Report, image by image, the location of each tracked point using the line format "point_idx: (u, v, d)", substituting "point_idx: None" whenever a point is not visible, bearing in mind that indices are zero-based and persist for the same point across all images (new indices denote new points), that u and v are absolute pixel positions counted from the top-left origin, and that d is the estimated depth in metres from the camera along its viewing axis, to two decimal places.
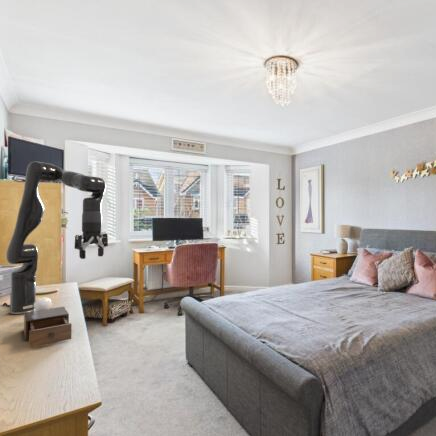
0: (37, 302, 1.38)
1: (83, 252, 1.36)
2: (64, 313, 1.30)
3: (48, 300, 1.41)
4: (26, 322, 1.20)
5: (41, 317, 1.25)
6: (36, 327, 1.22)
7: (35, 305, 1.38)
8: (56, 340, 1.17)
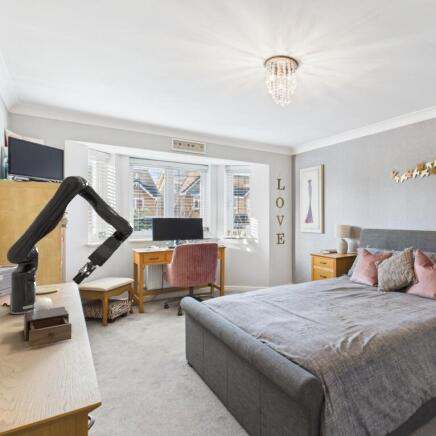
0: (37, 302, 1.38)
1: (82, 279, 1.47)
2: (64, 313, 1.30)
3: (48, 300, 1.41)
4: (26, 322, 1.20)
5: (41, 317, 1.25)
6: (36, 327, 1.22)
7: (35, 305, 1.38)
8: (56, 340, 1.17)
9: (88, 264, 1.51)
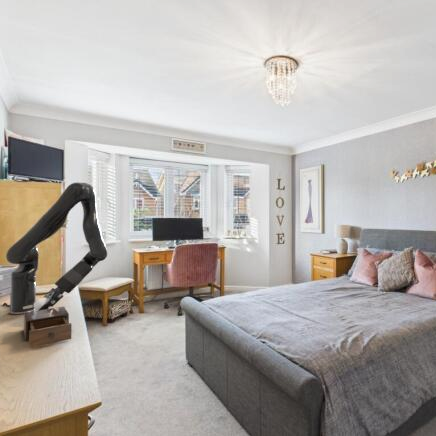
0: (37, 302, 1.38)
1: (47, 308, 1.39)
2: (64, 313, 1.30)
3: None
4: (26, 322, 1.20)
5: (41, 317, 1.25)
6: (36, 327, 1.22)
7: (35, 305, 1.38)
8: (56, 340, 1.17)
9: (55, 291, 1.43)
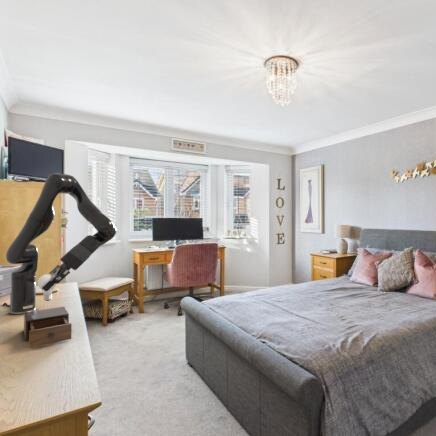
0: (41, 278, 1.26)
1: (52, 285, 1.27)
2: (64, 313, 1.30)
3: None
4: (26, 322, 1.20)
5: (41, 317, 1.25)
6: (36, 327, 1.22)
7: (39, 282, 1.26)
8: (56, 340, 1.17)
9: (61, 267, 1.31)
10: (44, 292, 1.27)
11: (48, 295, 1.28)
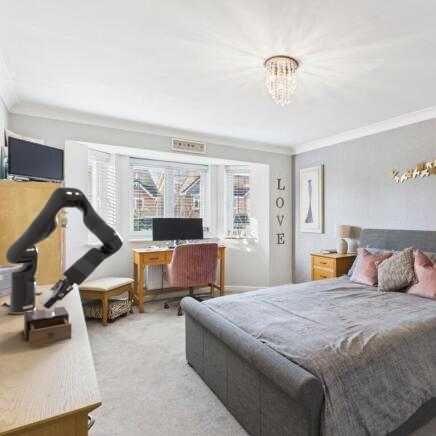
0: (43, 295, 1.18)
1: (54, 302, 1.19)
2: (64, 313, 1.30)
3: None
4: (26, 322, 1.20)
5: (41, 317, 1.25)
6: (36, 327, 1.22)
7: (41, 299, 1.18)
8: (56, 340, 1.17)
9: (63, 282, 1.23)
10: (46, 309, 1.19)
11: (50, 312, 1.20)
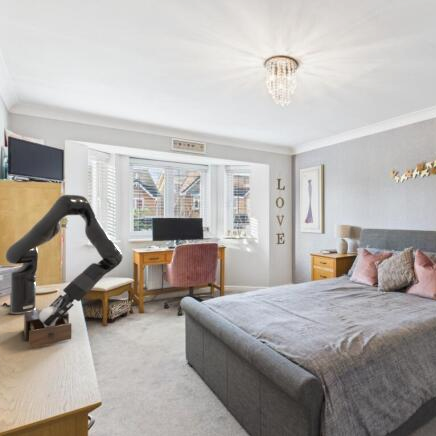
0: (43, 312, 1.18)
1: (54, 319, 1.19)
2: None
3: None
4: (26, 322, 1.20)
5: None
6: (36, 327, 1.22)
7: (41, 316, 1.18)
8: (56, 340, 1.17)
9: (63, 299, 1.23)
10: (46, 326, 1.19)
11: None
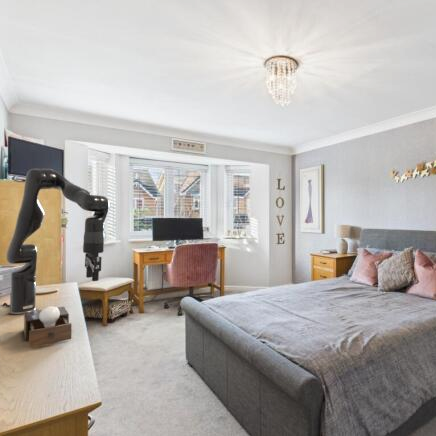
0: (43, 312, 1.18)
1: (98, 274, 1.33)
2: (64, 313, 1.30)
3: (56, 310, 1.21)
4: (26, 322, 1.20)
5: None
6: (36, 327, 1.22)
7: (41, 316, 1.18)
8: (56, 340, 1.17)
9: (90, 257, 1.33)
10: (46, 326, 1.19)
11: None
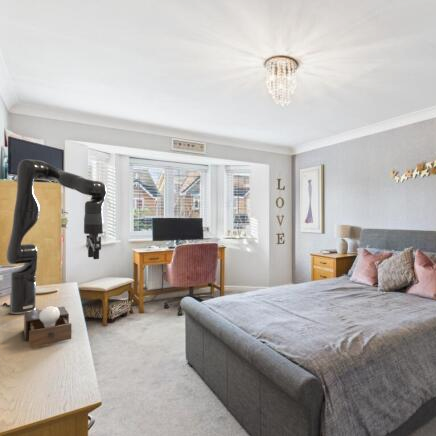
0: (43, 312, 1.18)
1: (98, 252, 1.44)
2: (64, 313, 1.30)
3: (56, 310, 1.21)
4: (26, 322, 1.20)
5: None
6: (36, 327, 1.22)
7: (41, 316, 1.18)
8: (56, 340, 1.17)
9: (90, 238, 1.45)
10: (46, 326, 1.19)
11: None
